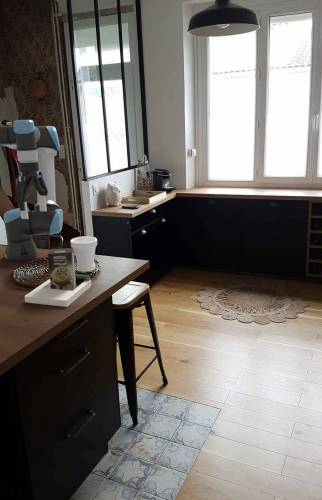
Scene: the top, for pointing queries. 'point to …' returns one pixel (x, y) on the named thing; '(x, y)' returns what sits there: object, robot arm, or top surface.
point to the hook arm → (83, 277)
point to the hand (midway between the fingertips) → (34, 214)
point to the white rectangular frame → (55, 294)
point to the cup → (84, 252)
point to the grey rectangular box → (62, 269)
